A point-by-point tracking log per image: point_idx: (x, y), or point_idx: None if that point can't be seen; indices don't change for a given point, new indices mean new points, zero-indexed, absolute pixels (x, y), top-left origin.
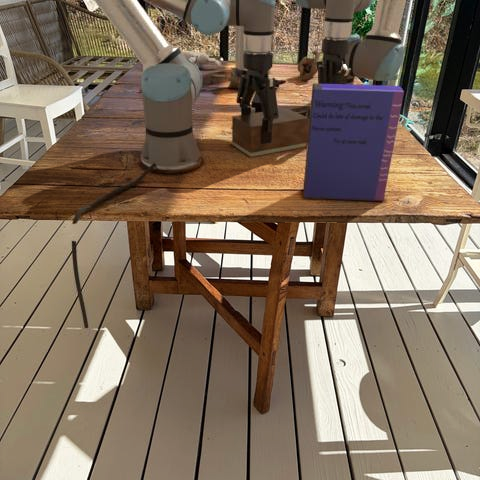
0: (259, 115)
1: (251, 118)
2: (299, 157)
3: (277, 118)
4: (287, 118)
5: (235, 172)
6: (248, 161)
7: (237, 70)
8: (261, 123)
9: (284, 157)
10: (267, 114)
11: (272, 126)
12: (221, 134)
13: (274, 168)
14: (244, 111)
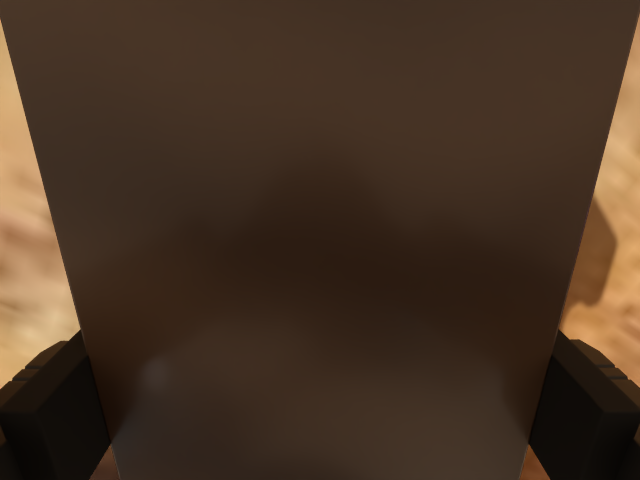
0: (202, 309)
1: (275, 429)
2: (620, 90)
3: (426, 168)
4: (511, 15)
5: (540, 473)
6: None
7: None
8: (480, 425)
9: None
10: (193, 193)
11: (626, 377)
12: (6, 321)
13: (631, 320)
14: (83, 453)
